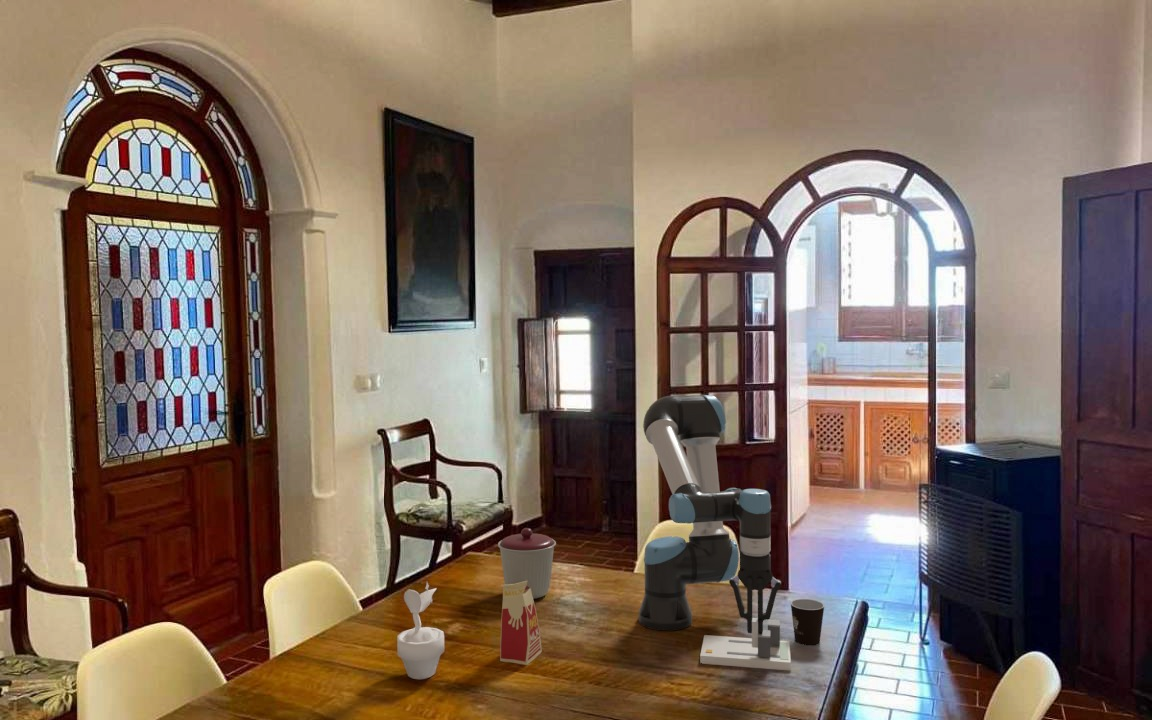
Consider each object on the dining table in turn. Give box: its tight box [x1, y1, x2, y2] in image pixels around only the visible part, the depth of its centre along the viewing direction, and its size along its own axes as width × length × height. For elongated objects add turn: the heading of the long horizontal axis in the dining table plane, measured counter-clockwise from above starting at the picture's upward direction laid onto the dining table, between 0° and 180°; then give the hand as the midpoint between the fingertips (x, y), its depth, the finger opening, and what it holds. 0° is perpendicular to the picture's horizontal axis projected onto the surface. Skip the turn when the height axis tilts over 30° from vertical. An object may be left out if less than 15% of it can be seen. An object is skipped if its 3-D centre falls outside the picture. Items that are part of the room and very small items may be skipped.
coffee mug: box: [790, 598, 825, 647], centre depth 229 cm, size 12×9×10 cm
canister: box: [497, 527, 557, 600], centre depth 268 cm, size 18×18×21 cm
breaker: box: [767, 618, 781, 646], centre depth 221 cm, size 3×4×5 cm
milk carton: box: [499, 580, 543, 666], centre depth 220 cm, size 9×9×20 cm
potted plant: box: [396, 582, 445, 680], centre depth 209 cm, size 13×12×25 cm
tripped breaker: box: [758, 629, 770, 658], centre depth 214 cm, size 3×4×5 cm
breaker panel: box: [699, 634, 792, 671], centre depth 219 cm, size 22×14×2 cm, turn 77°
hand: (755, 645), depth 214 cm, fingers closed
